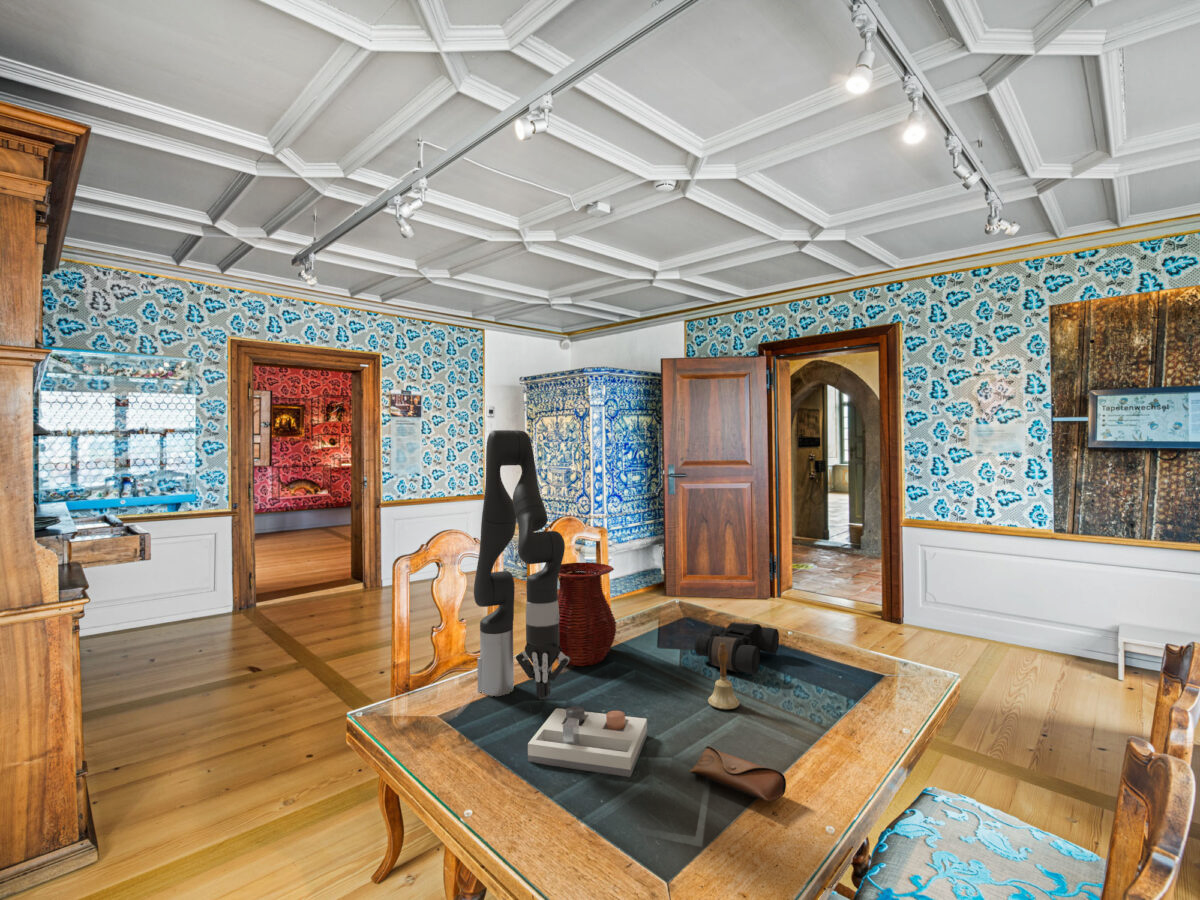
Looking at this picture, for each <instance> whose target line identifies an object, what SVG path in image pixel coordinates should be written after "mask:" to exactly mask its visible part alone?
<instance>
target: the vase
mask: <svg viewBox="0 0 1200 900" xmlns="http://www.w3.org/2000/svg"><path fill="white" fill-rule="evenodd" d="M614 570H615V569H614V567H612V565H609V564H605V563H597V562H596V563H595V562H568V563H567V562H566V563H561V567H560V572H559V576H558V580H559V583H558V584H559V586H558V606H559V615H560V619H559V644H560V647H561V649H562V651H561V652H562V653H563V654H564V655H565V656H570V658H571V659H570V661H569V662H568V664H567V665H572V666H577V667H579V666H580V667H583V666H590V665H596V664H598V663H600V662H602V661H604V660H605V657H607V655H608V652H609V653H610V649H611V648H612V646H613V644H614V641H615V639H616V637H615V636H616V633H617V623H618V622H617V621H616V619H615V616H614V614H613V611H612V609H611V608H610V605H609V603H608V600H607V599H606V596H605V594H604V592H603V588H602V585H603V584H602V582H601V581H602V577H601V576H603V575H607V574H609V573H611V572H613V571H614ZM557 659H558V660H559V657H558V658H557Z"/></svg>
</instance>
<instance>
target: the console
mask: <svg viewBox="0 0 1200 900" xmlns="http://www.w3.org/2000/svg"><path fill="white" fill-rule="evenodd" d="M566 709H567V708H555V709H554V710H553V711H552V713H551V714H550V716H548V718H547V719H546V720H545V722H544V723H543V724H542V725H541V727H540V728H539V729H538V730H537V732H535V734H534V735H533V737H532V738H531V739H530V740H529V741H528V743H527V762H529V763H535V764H539V765H540V764H541V765H547V766H553V767H559V768H566V769H574V770H580V771H587V772H595V773H600V774H608V775H613V776H621V777H627V778H631V776H632V774H633V772H634V769H635V767H636V764H637V762H638V759H639V757H640V755H641V752H642V749H643V747H644V745H645V743H646V739H647V737H648V719H647V718H644V717H635V716H626V715H625V728H624V729H622V730H610V729H608V728H607V726H606V714H607V713H603V712H602V713H599V712H592V711H584V720H585V721H584V723H583V724H580V725H579V745H570V744H563V725H564V724H565V722H566Z"/></svg>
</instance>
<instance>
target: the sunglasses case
mask: <svg viewBox="0 0 1200 900" xmlns="http://www.w3.org/2000/svg"><path fill="white" fill-rule="evenodd" d="M688 772H689V773H692V774H694V775H698V776H701V777H703V778H706V779H708V780H710V781H713V782H714V783H717V784H720V785H723V786H725V787H728V788H730V789H733V790H734V791H736V792H739V793H742V794H745V795H747V796H750V797H751V798H755V799H758V800H759V799H760V800H763V801H766V802H771V803H772V802H773V801H776V800H779V798H781V797H783V796H784V795H785V793H786V788H787V781H786V777H785V775H784V774H783V773H782V772H780V771H779V770H777V769H774V768H770V767H765V766H761V765H759V764H756V763H754V762H752V761H750V760H749V761H748V760H746V759H743V758H740V757H737V756H734V755H732V754H729V753H725V752H723V751H720V750H717V748H716V749H715V748H714V747H712V746H706V747H705V750H704V751H703V753H702V754H701V755H700V757H699V759H698V760H697V762H696V763H695V764H694V765H693V767H692V769H690V770H688Z"/></svg>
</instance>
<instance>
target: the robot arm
mask: <svg viewBox="0 0 1200 900" xmlns="http://www.w3.org/2000/svg"><path fill="white" fill-rule="evenodd" d="M485 446H486V450H485V486H484V497H483V498H484V499H483V505H482V512H481V513H482V514H481V522H480V523H481V524H480V525H481V526H480V542H479V552H478V553H479V554H478V560H477V566H476V571H475V576H474V577H475V578H474V583H473V584H474V585H473V598H474V602H475V603H476V606H478V607H480V608H481V607H482V608H483V607H484V608H488V607H493V606H495V607H496V606H497V608H495V610H494V611H492V612H491V613H489V614H488V615H485V616H484V617H483V618H481V620H480V622H479V640H480V641H479V647H480V649H479V654H480V656H479V657H477V660H476V662H477V692H478V691H481V692H483V693H484V694H486V695H490V696H489V697H493V696H495V697H500V696H502V695H503V696H506V695H509V694H510V692H511V693H512V692H513V691H514V690H515V688H514V684H515V681H514V679H515V678H514V676H515V673H514V666H515V665H514V664H515V663H514V616H515V613H514V612H515V611H514V610H515V588H516V587H515V580H514V576H513V574H512V573H511V572H510V571H508V570H503V571H502V570H501V571H494V572H493V568H494V566H495V563H496V562H497V560H498V558H499V557H500V555H501V554H502V553H503V552H504V551H505V549H506V548H507V547H508V545H509V544H510V543H511V541H512V540H513V538H514V536H515V533H516V525H517V526H518V542H517V543H518V545H517V554H518V557H519V559H520V560H521V562H523V563H524V564H526V565H536V564H544V566H543V567H542V569H541V570H539V571H537V572H534V573H532V574H529V575H528V577H527V578H526V583H525V585H526V586H525V587H526V605H525V640H526V644H525V646H524V650H522V652H520V653H519V654H517V655H516V657H515V660H516V661H517V663H518V664H519V666H520V667H521V669H522V670H523V671H524V673H525V674H526V676H527V677H528V679H533V680H535V683H536V684H535V685H536V687H535V688H536V696H538V699H540V700H541V699H543V700H546V699H547V698H548V697H549V695H550V694H551V682H552V681H555V679H556V678H557V677H559V676H560V674H561V673H562V671H563V670H564V669H565V668H566V667H567V665H569V664H568V662H569V661H570V659H571V658H570V656H565V655H564V654H563V653H562V652H561V651H562V649H561V647H560V644H559V619H560V615H559V606H558V593H559V592H558V591H559V590H558V589H559V586H558V584H559V583H558V581H559V572H560V567H561V564H563V561H564V555H565V551H566V550H565V549H566V546H565V544H566V543H565V539H564V537H563V536H562V534H561V533H560V532H559V531H557V530H547V531H541V530H542V529H543V528H545V527H546V526H547V523H548V520H549V519H548V513H547V511H546V507H545V505H544V502H543V498H542V496H541V495H542V494H541V492H540V488H539V482H538V474H537V469H536V461H535V456H534V451H533V445H532V441H531V438H530V436H529V434H528V433H527V432H526V431H524V430H520V429H519V430H516V429H515V430H510V429H509V430H508V429H507V430H506V429H505V430H504V429H503V430H502V429H499V430H496V429H495V430H494V429H493V430H492V431H490V432H489V434H488V436H487V439H486V445H485ZM502 466H507V467H508V466H519V467H520V468H521V475H520V477H519V480H518V482H517V484H516V486H515V488H514V490H513V495H512V497H511V496H510V494H509V492H508V491H507V489H506V487H505V485H504V483H503V480H502V476H501V475H502V474H501V468H502ZM558 657H559V659H558ZM557 659H558V660H557ZM556 661H557V663H558V665H557V667H556V668H555V670H554V671H553V666H554V663H555V662H556ZM552 671H553V672H552ZM481 692H480V693H481ZM484 694H483V695H484ZM505 694H506V695H505ZM486 695H485V696H486ZM503 696H502V697H503Z"/></svg>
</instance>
